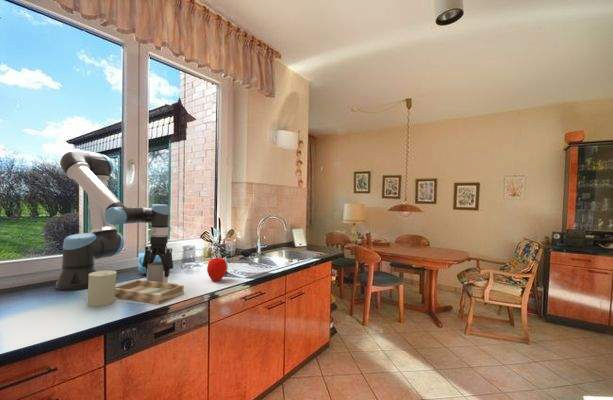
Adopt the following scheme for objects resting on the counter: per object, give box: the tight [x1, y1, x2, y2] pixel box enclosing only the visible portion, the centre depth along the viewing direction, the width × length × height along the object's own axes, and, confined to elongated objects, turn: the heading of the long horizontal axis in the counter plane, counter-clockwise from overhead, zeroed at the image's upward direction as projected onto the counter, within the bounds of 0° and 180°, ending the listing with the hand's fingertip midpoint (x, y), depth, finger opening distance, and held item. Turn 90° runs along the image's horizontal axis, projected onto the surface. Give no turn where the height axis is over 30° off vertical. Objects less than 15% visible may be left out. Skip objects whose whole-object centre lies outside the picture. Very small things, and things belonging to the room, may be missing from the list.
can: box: [86, 269, 117, 308], centre depth 113 cm, size 9×9×12 cm
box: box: [115, 278, 185, 305], centre depth 124 cm, size 24×15×4 cm, turn 76°
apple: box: [206, 257, 228, 282], centre depth 151 cm, size 10×10×12 cm
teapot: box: [137, 251, 162, 275], centre depth 157 cm, size 18×16×13 cm
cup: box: [146, 262, 164, 282], centre depth 140 cm, size 8×8×10 cm
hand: (156, 282), depth 140 cm, fingers closed on cup, 8 cm apart
